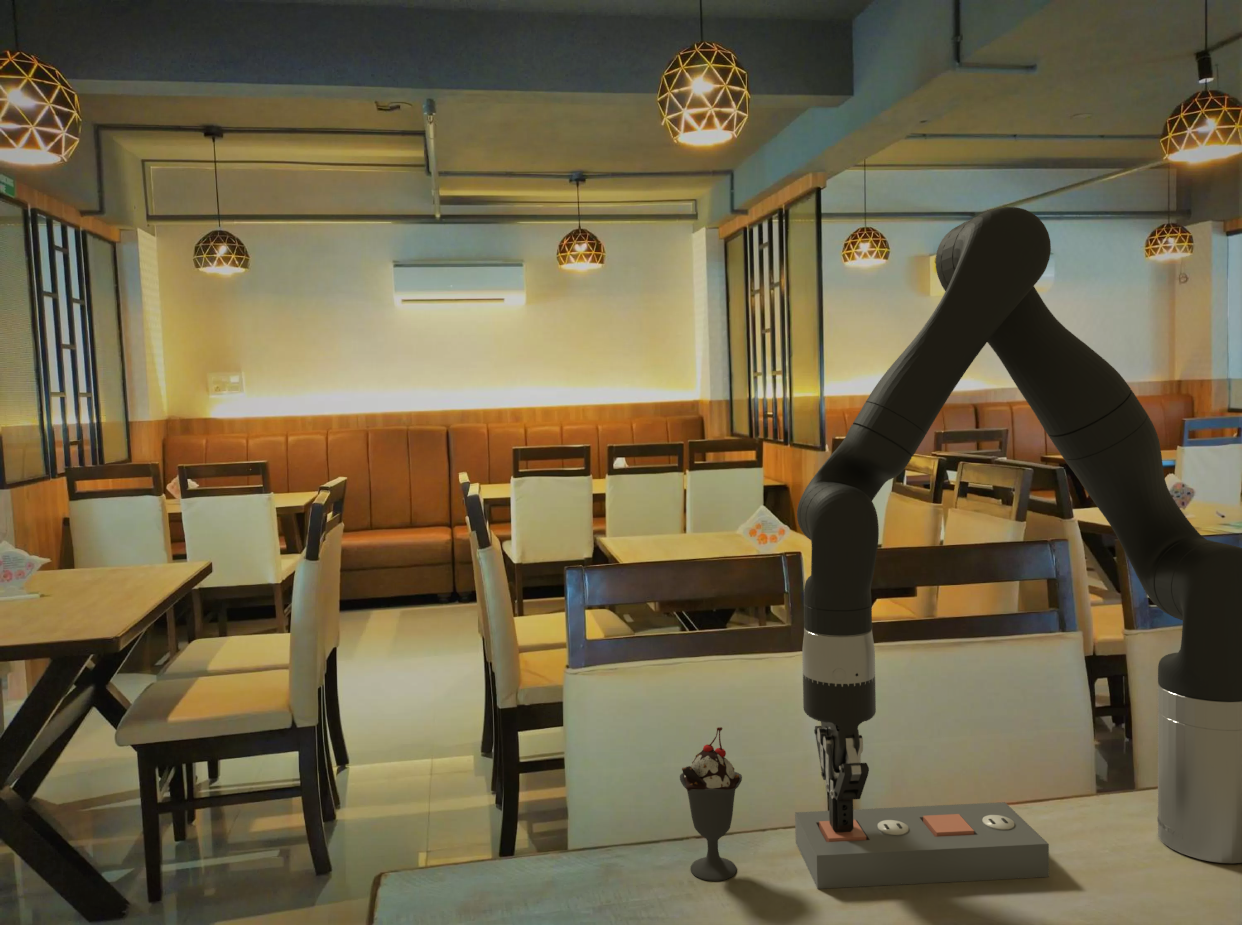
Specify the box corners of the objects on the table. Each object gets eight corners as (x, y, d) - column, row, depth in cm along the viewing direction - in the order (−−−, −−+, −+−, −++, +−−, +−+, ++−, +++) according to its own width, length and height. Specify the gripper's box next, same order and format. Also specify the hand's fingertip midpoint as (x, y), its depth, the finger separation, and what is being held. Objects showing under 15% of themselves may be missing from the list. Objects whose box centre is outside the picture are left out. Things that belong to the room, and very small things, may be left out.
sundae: (743, 854, 102) (739, 721, 101) (745, 886, 95) (741, 744, 94) (683, 853, 102) (679, 721, 101) (681, 885, 96) (677, 743, 95)
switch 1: (855, 841, 101) (855, 819, 101) (866, 859, 97) (866, 836, 97) (819, 843, 101) (819, 821, 101) (829, 861, 97) (828, 838, 97)
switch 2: (959, 836, 101) (958, 814, 101) (974, 853, 97) (974, 830, 97) (923, 837, 101) (923, 815, 101) (937, 855, 97) (936, 832, 97)
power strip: (1005, 832, 105) (1004, 799, 105) (1048, 876, 95) (1048, 840, 95) (795, 842, 104) (794, 809, 104) (817, 888, 94) (816, 852, 94)
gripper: (894, 687, 91) (896, 857, 92) (855, 652, 105) (858, 801, 106) (819, 691, 91) (822, 861, 92) (790, 655, 104) (793, 804, 105)
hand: (841, 828), depth 99 cm, fingers closed
